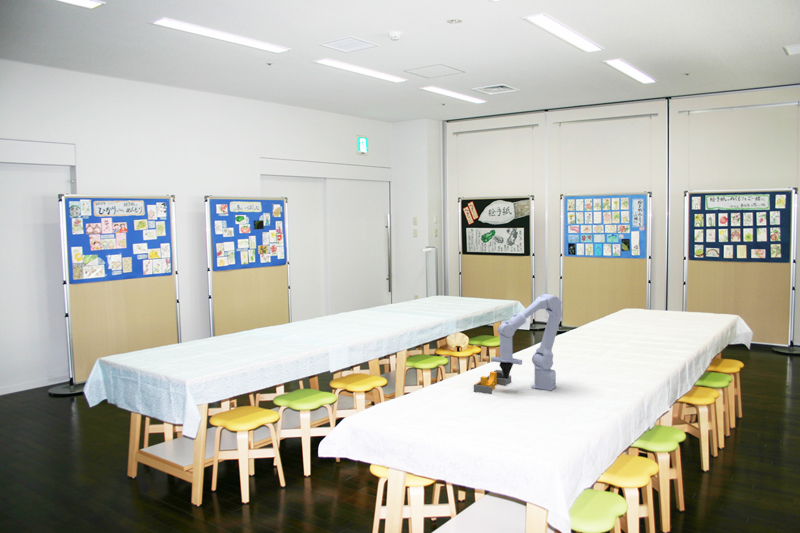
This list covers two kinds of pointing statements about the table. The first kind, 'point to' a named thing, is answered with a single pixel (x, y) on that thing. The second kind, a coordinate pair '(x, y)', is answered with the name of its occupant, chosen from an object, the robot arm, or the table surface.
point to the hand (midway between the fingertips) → (506, 378)
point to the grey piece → (489, 389)
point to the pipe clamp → (491, 382)
